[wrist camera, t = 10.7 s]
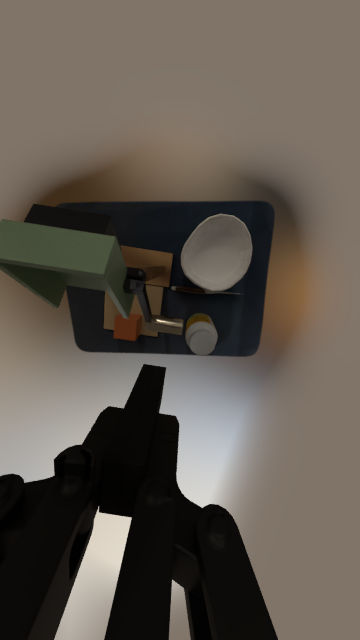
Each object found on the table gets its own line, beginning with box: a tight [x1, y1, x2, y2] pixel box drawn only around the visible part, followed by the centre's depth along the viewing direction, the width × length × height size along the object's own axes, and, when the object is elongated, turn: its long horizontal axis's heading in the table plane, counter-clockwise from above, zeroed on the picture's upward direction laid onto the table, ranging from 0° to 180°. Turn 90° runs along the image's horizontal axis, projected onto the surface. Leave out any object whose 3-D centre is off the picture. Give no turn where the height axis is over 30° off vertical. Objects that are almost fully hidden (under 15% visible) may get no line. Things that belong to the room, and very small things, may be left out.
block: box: [114, 313, 142, 341], centre depth 37 cm, size 4×4×4 cm
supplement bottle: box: [185, 313, 218, 356], centre depth 35 cm, size 5×5×10 cm
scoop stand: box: [121, 246, 173, 287], centre depth 28 cm, size 6×13×18 cm, turn 82°
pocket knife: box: [171, 286, 245, 295], centre depth 36 cm, size 14×1×2 cm, turn 85°
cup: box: [181, 214, 253, 292], centre depth 31 cm, size 10×10×10 cm
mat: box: [104, 284, 164, 337], centre depth 39 cm, size 10×11×1 cm
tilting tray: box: [0, 204, 184, 335], centre depth 21 cm, size 15×16×5 cm
